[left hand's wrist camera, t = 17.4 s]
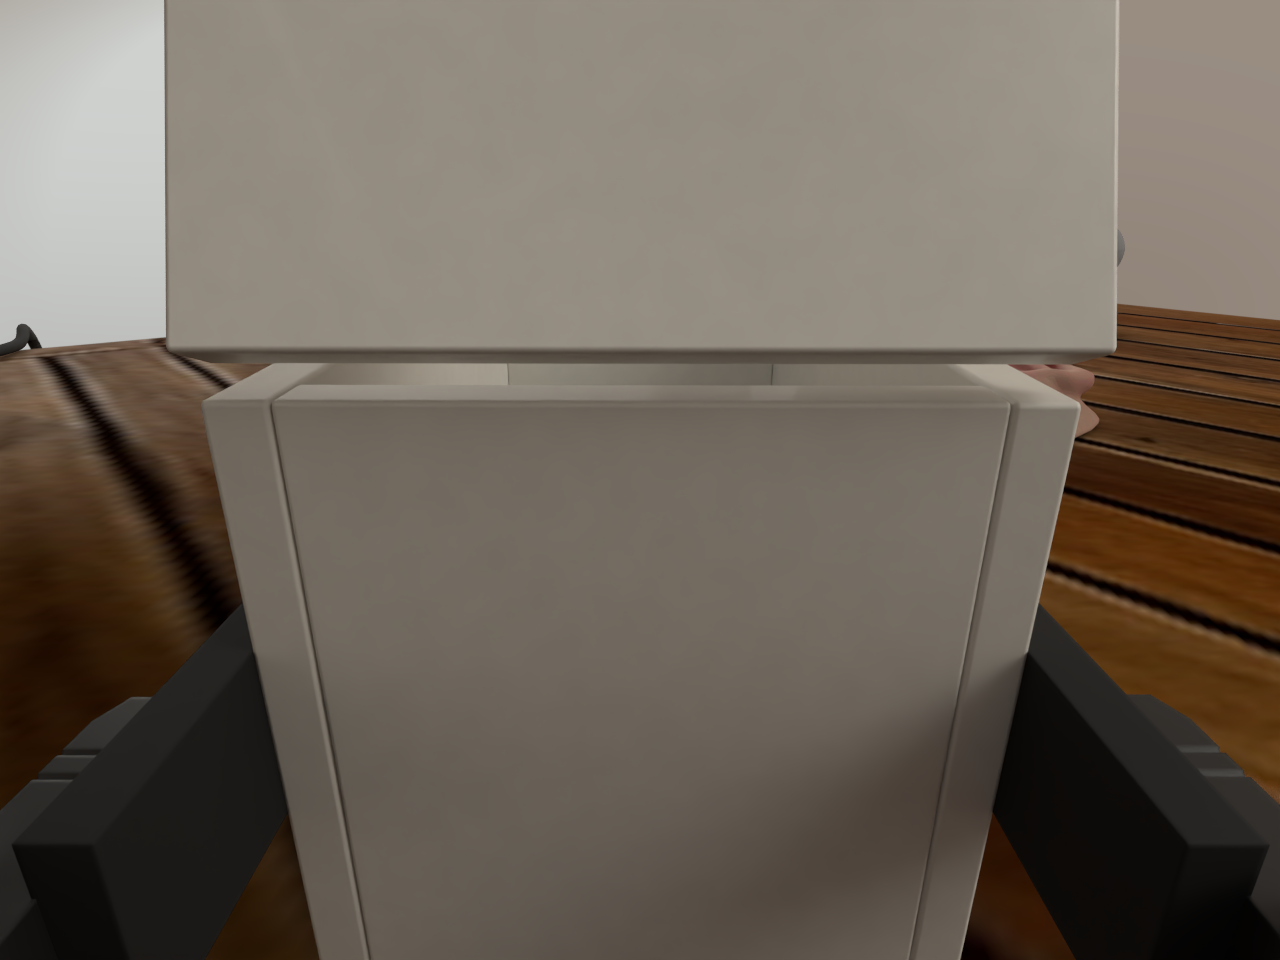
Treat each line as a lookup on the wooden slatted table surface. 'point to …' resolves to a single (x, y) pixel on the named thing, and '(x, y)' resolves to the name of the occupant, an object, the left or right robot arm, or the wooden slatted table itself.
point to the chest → (640, 647)
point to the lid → (641, 181)
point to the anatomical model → (1065, 387)
